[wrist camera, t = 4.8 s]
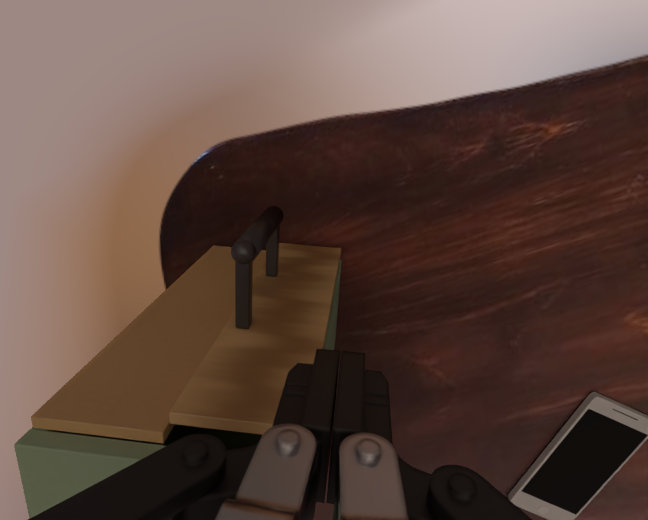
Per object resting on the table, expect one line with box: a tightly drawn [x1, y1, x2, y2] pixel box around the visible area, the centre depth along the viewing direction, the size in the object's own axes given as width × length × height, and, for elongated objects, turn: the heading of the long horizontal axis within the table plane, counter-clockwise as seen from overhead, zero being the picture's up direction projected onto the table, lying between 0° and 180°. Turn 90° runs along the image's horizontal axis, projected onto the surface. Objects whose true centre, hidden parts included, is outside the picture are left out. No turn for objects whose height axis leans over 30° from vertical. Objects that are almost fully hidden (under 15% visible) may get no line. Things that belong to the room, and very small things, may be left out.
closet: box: [15, 246, 342, 518], centre depth 32 cm, size 12×10×26 cm
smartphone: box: [508, 392, 648, 520], centre depth 46 cm, size 7×16×1 cm, turn 156°
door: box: [169, 206, 341, 435], centre depth 29 cm, size 6×6×24 cm
